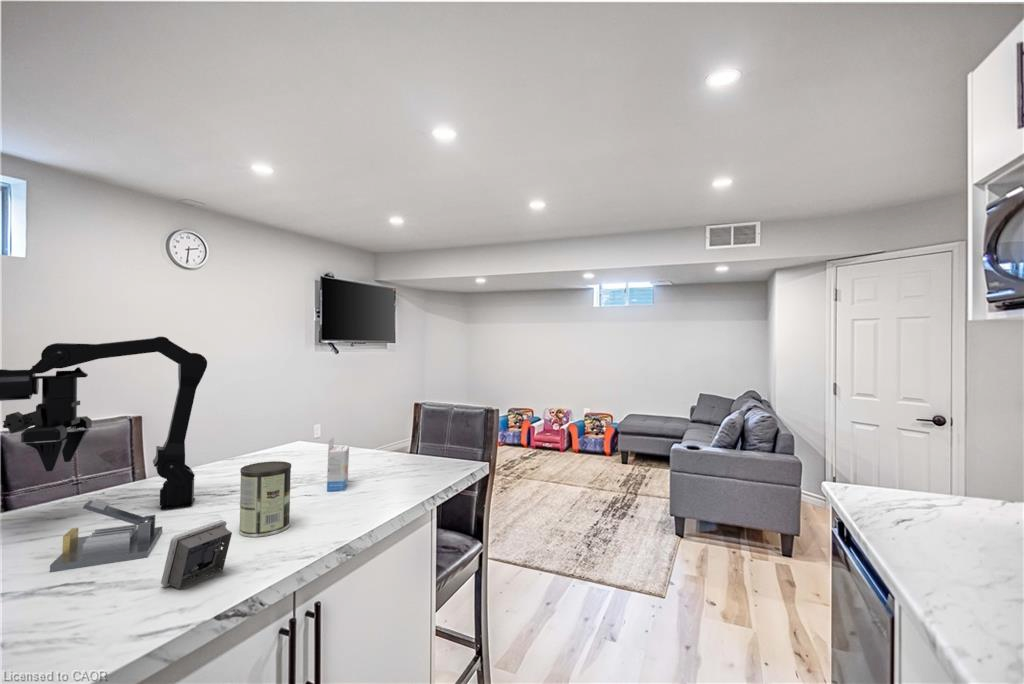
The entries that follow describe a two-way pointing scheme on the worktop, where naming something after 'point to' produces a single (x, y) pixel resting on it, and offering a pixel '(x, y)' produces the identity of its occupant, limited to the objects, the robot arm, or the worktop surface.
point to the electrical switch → (196, 555)
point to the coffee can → (265, 498)
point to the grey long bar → (114, 512)
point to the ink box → (337, 467)
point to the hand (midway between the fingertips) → (59, 466)
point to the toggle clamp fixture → (107, 545)
